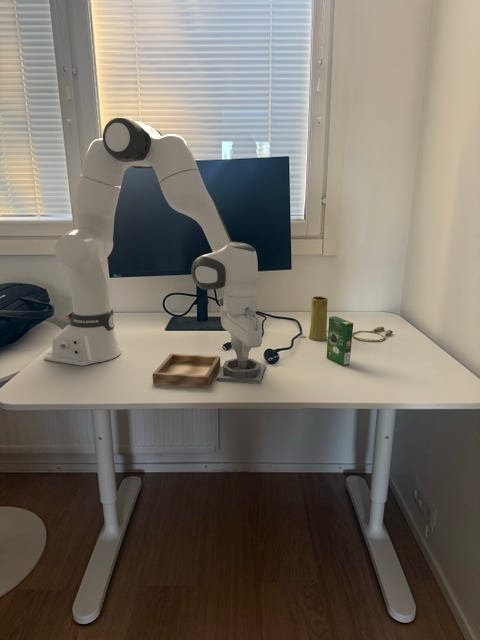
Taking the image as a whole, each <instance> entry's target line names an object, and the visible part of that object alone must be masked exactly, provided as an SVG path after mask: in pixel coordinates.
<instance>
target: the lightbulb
mask: <svg viewBox="0 0 480 640" xmlns="http://www.w3.org/2000/svg"><path fill="white" fill-rule="evenodd" d="M230 344H231V346H232V347H233V348H232V349H233V350H234V352H235V354H236V355H235V356H236V358H237V360H238V366H239V367H238V368H241V369H245V367H246V366H247V360H248V358H249V356H248V357H243V356H241V350H242V347H243V345H242V342H241V341H239V340H238V339H237V338H236V336H235V335H233V336H232V338H231V337H230ZM251 349H252V348H250V349H249V352H250V351H251Z"/></svg>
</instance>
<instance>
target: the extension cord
mask: <svg viewBox="0 0 480 640" xmlns="http://www.w3.org/2000/svg"><path fill="white" fill-rule="evenodd" d="M383 331H385V327H384V326H377V327H376V328H373V330H370V331H369V330H358V331H353V333H352V339H355V340H356V341H360V342H366V343H382V342H384V341H386V337H390V336H391V335H392V334H393V330H391V329H387V331H386V332H385V334H384V335H385V336H384V335H383V334H381V332H383ZM364 332H365V333H372V334H376V335H379V336H381V337H382V338H381V339H380V338H379V339H368V338H359V337H357V336H354V335H356V334H360V333H364Z"/></svg>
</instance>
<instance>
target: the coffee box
mask: <svg viewBox="0 0 480 640" xmlns="http://www.w3.org/2000/svg"><path fill="white" fill-rule="evenodd" d="M327 330H328V331H327V344H326V345H327V346H326V347H327V348H326V358H327V359H328V360H330V361H333V362H334V363H336V364H338V365H340V366H342V367H346V366H349V365H350V364H351V362H350V361H351V354H352V343H353V337H352V334H353V333H354V322H351V321H349V320H346V319H344V318H341V317H339V316H329V317H328V326H327Z"/></svg>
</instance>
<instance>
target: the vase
mask: <svg viewBox="0 0 480 640" xmlns="http://www.w3.org/2000/svg"><path fill="white" fill-rule="evenodd" d="M310 309H311V310H310V311H311V312H310V325H309V335H308V338H309V339H310V340H311V341H315V342H323V341H325V340H328V331H327V330H328V326H327V325H328V324H327V323H328V297H325V296H321V295H318V296H312V297H311V307H310Z"/></svg>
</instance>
